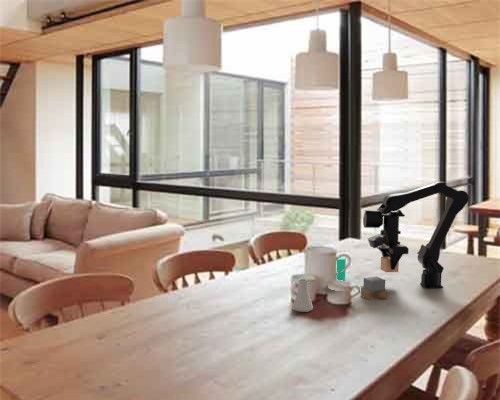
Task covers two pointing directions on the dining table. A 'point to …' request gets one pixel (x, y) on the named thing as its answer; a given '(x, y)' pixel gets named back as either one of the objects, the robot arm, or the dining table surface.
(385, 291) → the tower base
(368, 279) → the tower middle
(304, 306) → the flask
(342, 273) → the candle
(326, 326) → the dining table surface
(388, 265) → the terracotta cube
